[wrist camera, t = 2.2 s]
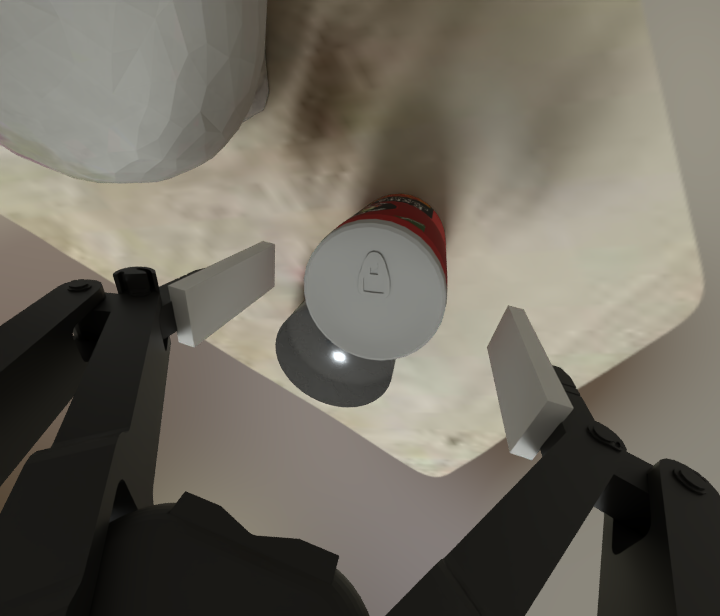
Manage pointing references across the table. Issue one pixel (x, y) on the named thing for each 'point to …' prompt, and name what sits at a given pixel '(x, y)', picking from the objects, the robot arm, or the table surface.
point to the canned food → (380, 279)
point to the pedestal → (328, 365)
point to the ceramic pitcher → (128, 83)
